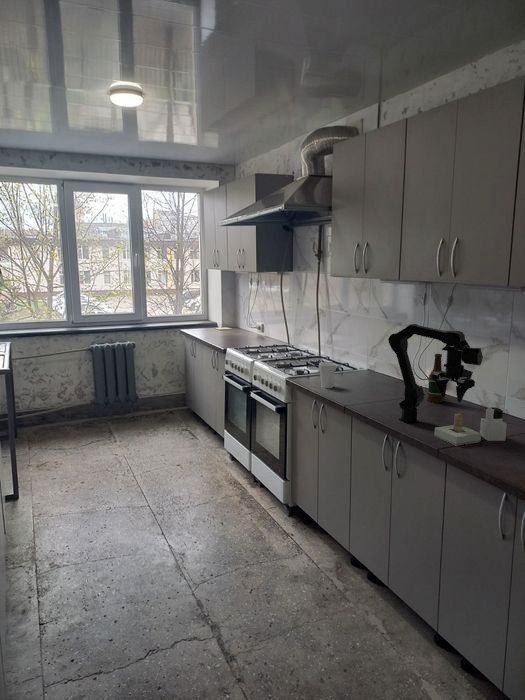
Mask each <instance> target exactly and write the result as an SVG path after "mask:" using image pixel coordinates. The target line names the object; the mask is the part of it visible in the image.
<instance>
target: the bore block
mask: <svg viewBox="0 0 525 700" xmlns="http://www.w3.org/2000/svg"><path fill="white" fill-rule="evenodd" d="M453 430H454V424H453V425H452V424H451V425H446V426H443V425H442V426H437V427H434V437H435V438H437V439H440V440H442V441H444V442H446V441H447V443H448V442H449V444H450V443H451V445H452V446H455V447H458V446H465V445H470V444H476V443H481V442H482V436H481V433H480V431H479V432H478V431H477V430H473V429H471V428H469V427H467V426H463V428H462V432H460V433H456V432H454V431H453ZM464 444H465V445H464Z"/></svg>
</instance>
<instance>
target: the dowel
mask: <svg viewBox="0 0 525 700" xmlns="http://www.w3.org/2000/svg"><path fill="white" fill-rule="evenodd" d="M453 418H454V420H453V425H454V430H453V431H454V432H456V433H460V432H462V428H463V425H464V414H461V413H455V414H454V417H453Z"/></svg>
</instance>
